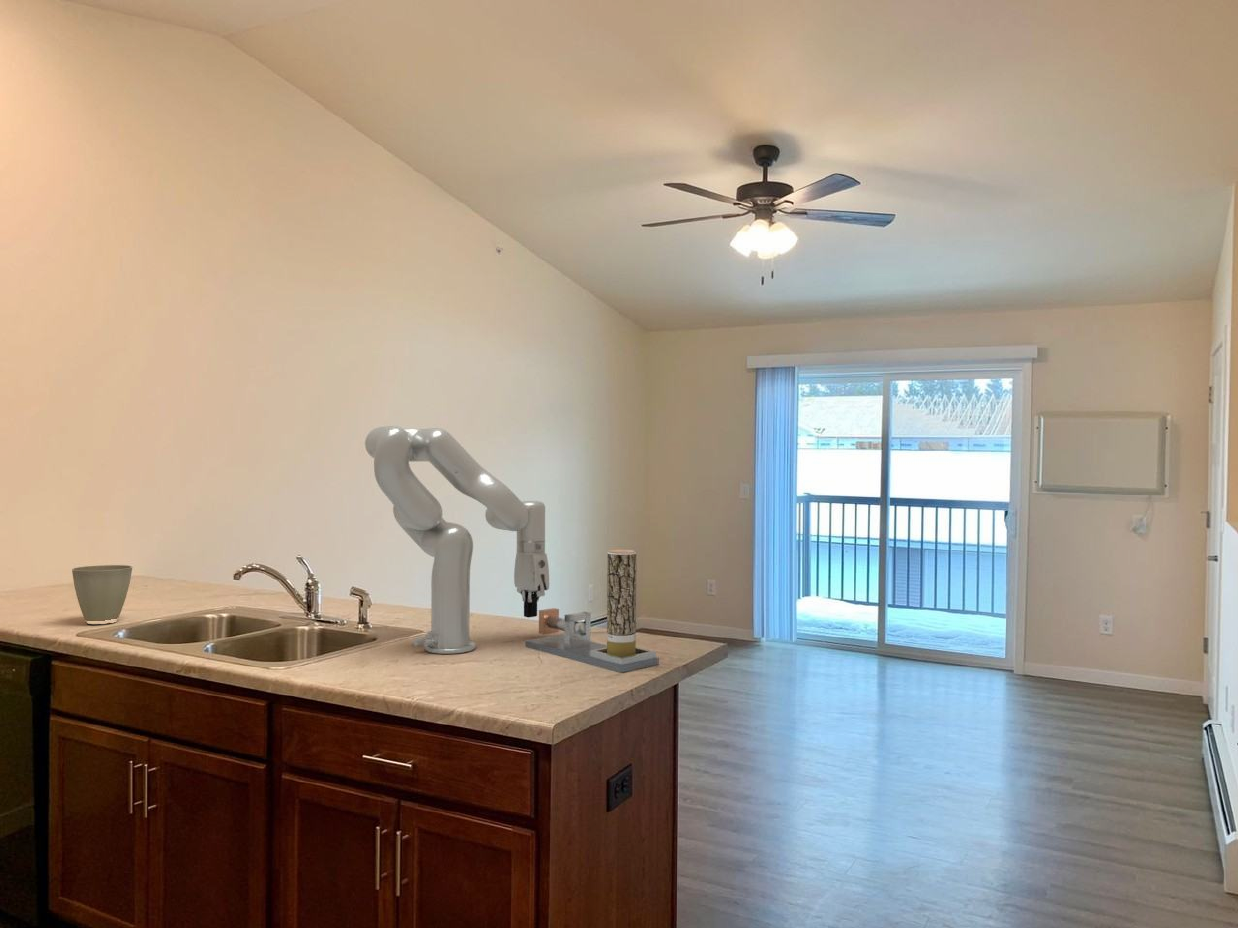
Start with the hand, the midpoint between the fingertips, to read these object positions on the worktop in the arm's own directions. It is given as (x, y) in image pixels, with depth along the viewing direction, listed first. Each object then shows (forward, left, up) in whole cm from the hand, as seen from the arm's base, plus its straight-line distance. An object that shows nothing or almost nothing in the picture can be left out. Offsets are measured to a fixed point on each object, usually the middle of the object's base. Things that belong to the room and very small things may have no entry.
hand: (530, 616), depth 227 cm
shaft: (0, -14, -3) cm, 14 cm away
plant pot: (-79, +98, -6) cm, 126 cm away
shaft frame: (0, -24, -6) cm, 25 cm away
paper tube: (0, -36, -5) cm, 36 cm away
